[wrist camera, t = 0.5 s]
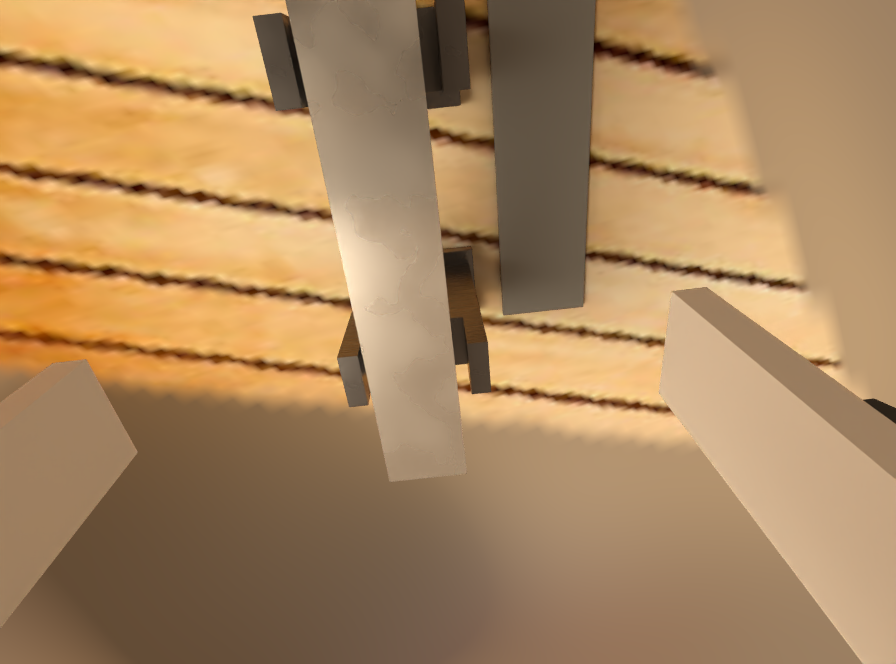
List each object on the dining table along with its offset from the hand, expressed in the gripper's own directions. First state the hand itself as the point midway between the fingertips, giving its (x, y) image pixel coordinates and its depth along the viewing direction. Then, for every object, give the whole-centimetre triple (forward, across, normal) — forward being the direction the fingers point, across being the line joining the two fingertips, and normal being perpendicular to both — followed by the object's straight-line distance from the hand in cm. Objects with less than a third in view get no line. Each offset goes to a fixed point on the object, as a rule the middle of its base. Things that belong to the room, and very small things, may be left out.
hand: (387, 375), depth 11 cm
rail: (+14, 0, 0) cm, 14 cm away
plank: (+23, +9, 0) cm, 24 cm away
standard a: (+23, 0, +7) cm, 24 cm away
